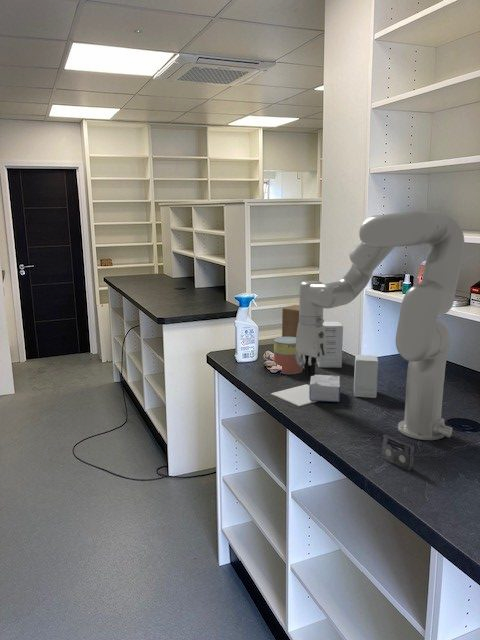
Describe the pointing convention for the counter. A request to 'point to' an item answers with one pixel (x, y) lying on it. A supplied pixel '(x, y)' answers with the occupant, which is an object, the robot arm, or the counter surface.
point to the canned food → (287, 355)
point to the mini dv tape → (397, 452)
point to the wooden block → (290, 321)
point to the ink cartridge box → (324, 388)
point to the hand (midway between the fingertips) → (309, 375)
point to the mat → (295, 395)
